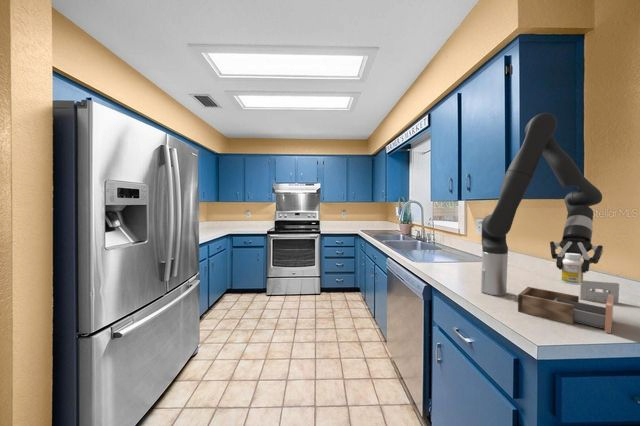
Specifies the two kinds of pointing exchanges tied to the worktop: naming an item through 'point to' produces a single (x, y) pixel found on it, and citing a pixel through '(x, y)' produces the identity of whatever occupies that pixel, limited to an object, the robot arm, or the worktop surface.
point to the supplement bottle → (572, 269)
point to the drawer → (592, 313)
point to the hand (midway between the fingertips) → (571, 269)
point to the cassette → (598, 296)
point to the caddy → (547, 304)
